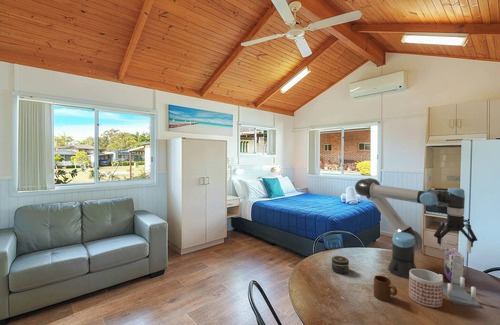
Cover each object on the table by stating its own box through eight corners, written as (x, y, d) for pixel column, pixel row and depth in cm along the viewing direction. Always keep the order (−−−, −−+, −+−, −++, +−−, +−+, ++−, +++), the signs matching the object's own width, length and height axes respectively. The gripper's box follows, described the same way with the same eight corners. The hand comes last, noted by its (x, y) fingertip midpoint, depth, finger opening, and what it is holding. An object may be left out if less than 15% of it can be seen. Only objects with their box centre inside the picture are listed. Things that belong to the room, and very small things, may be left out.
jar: (351, 272, 150) (352, 259, 150) (342, 276, 144) (342, 263, 144) (338, 265, 158) (338, 254, 158) (328, 269, 153) (328, 257, 152)
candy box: (443, 272, 150) (444, 246, 149) (455, 275, 147) (456, 248, 147) (450, 283, 138) (451, 254, 137) (463, 286, 135) (464, 256, 134)
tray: (452, 303, 119) (452, 289, 119) (434, 282, 138) (434, 270, 138) (481, 308, 115) (482, 293, 115) (459, 286, 135) (459, 273, 134)
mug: (402, 305, 117) (402, 285, 117) (390, 308, 115) (391, 288, 114) (381, 291, 128) (381, 274, 128) (370, 294, 126) (370, 276, 126)
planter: (402, 291, 129) (403, 268, 128) (429, 292, 128) (430, 268, 128) (420, 307, 115) (421, 281, 115) (449, 308, 115) (450, 282, 114)
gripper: (433, 214, 141) (432, 250, 142) (486, 218, 134) (485, 256, 135) (427, 211, 148) (427, 246, 149) (477, 214, 141) (476, 250, 142)
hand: (454, 250), depth 142 cm, fingers open, 13 cm apart
